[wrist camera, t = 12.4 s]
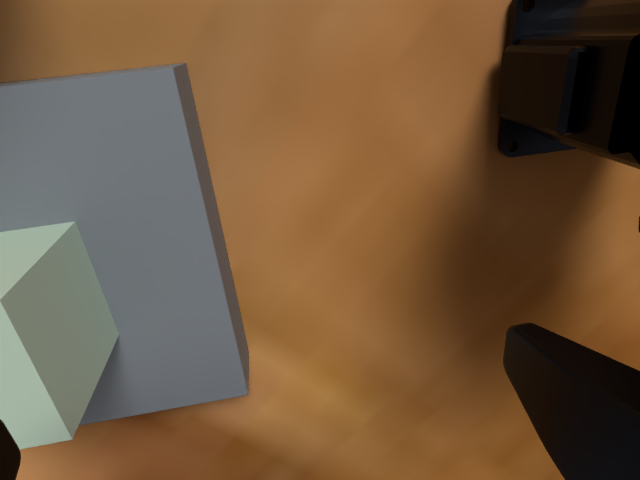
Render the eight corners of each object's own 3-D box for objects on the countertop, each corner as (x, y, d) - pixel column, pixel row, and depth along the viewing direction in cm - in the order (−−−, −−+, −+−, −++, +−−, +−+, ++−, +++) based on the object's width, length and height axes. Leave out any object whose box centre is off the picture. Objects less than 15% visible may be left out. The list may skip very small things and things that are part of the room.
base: (185, 62, 16) (172, 67, 13) (248, 351, 22) (248, 394, 19) (-224, 107, 15) (-330, 123, 12) (-36, 400, 21) (-78, 454, 18)
